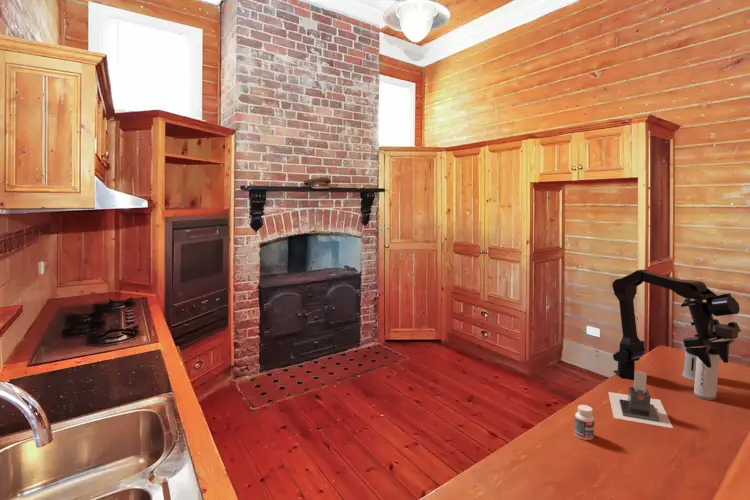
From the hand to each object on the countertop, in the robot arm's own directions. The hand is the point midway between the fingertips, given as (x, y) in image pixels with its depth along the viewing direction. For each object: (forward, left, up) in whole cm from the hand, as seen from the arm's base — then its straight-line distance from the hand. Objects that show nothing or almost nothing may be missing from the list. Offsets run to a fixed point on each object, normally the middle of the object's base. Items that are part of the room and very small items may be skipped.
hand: (718, 365), depth 138 cm
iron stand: (+1, -26, -16) cm, 30 cm away
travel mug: (-11, +4, -16) cm, 20 cm away
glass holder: (-25, +11, -16) cm, 31 cm away
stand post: (+1, -26, -14) cm, 29 cm away
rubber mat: (-1, -25, -16) cm, 29 cm away
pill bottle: (+15, -50, -16) cm, 55 cm away
